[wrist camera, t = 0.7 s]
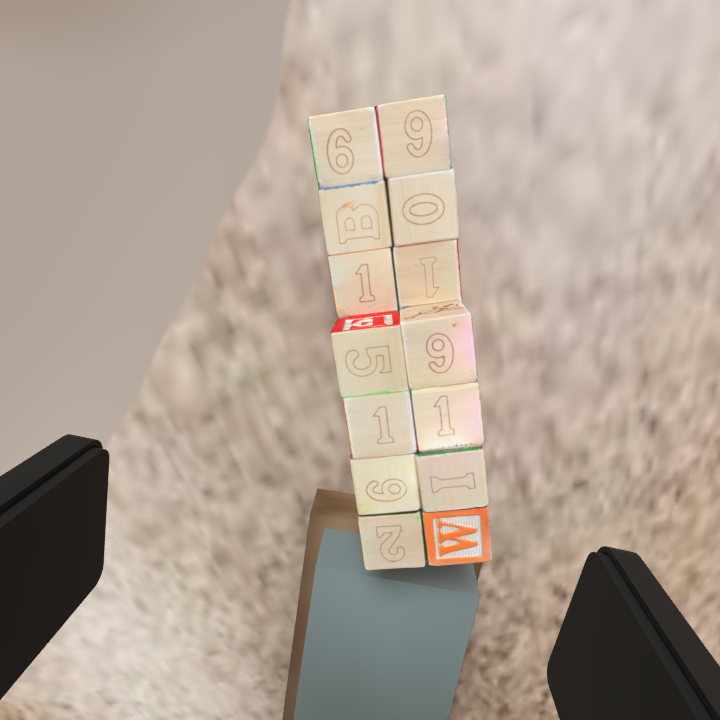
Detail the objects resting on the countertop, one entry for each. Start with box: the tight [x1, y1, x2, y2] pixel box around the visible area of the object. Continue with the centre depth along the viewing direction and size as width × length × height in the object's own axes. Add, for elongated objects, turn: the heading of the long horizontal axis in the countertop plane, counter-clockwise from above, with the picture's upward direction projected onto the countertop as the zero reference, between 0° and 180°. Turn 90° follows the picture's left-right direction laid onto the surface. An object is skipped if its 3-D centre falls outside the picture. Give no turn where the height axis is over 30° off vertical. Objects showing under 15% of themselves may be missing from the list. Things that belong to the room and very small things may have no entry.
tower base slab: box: [283, 489, 482, 720], centre depth 38 cm, size 12×22×4 cm, turn 172°
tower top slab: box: [293, 528, 480, 720], centre depth 35 cm, size 10×20×4 cm, turn 172°
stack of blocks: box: [308, 94, 492, 570], centre depth 27 cm, size 21×6×12 cm, turn 7°
